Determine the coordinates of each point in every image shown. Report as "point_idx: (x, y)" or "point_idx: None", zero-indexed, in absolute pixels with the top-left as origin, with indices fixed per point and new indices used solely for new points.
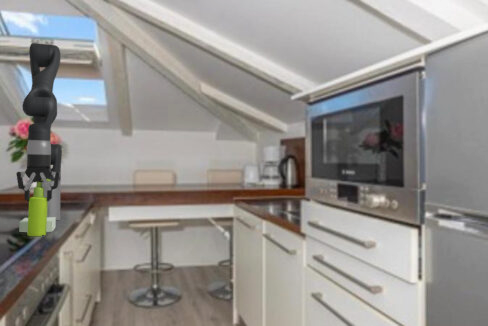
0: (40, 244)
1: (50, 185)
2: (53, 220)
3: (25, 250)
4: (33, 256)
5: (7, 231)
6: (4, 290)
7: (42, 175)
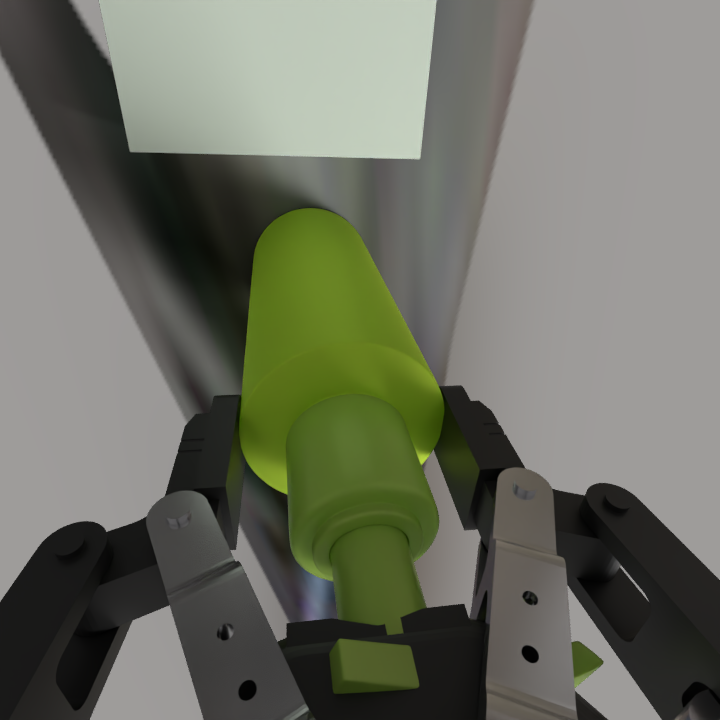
0: None
1: (543, 541)
2: (429, 41)
3: None
4: None
5: (7, 17)
6: None
7: None
